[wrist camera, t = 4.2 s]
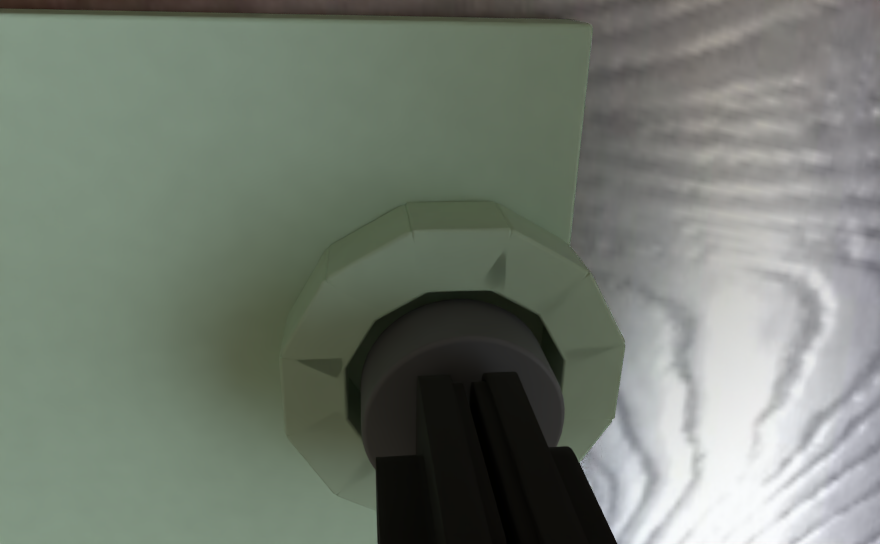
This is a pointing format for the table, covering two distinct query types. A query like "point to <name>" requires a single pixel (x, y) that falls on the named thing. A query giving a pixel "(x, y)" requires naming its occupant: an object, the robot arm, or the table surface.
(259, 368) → the scale
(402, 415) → the button
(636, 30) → the table surface
